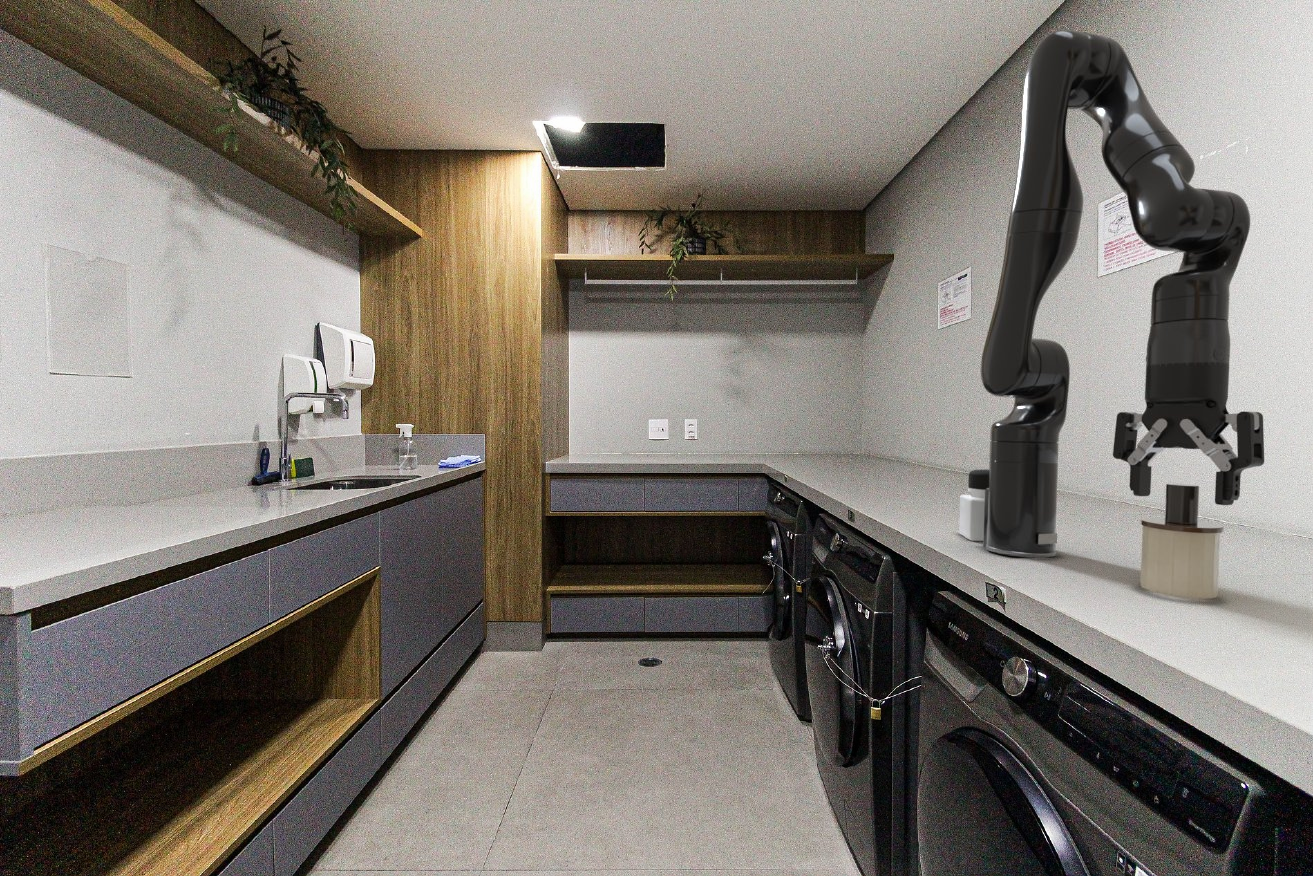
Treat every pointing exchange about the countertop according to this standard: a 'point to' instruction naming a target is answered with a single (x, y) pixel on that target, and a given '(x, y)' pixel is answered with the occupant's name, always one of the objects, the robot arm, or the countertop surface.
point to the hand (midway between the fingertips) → (1180, 500)
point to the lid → (1182, 512)
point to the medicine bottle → (974, 506)
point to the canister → (1180, 563)
